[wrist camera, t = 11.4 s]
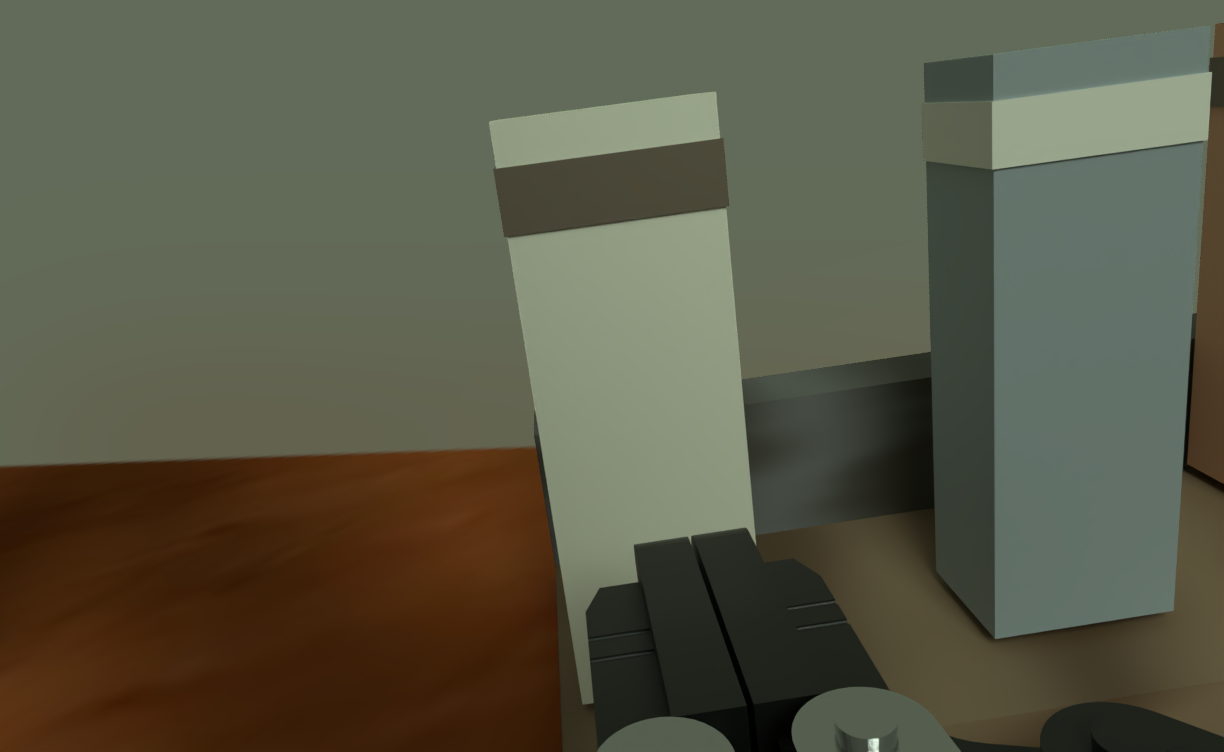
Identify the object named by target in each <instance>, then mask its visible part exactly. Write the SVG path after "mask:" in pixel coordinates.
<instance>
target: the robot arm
mask: <svg viewBox="0 0 1224 752" xmlns="http://www.w3.org/2000/svg"><path fill="white" fill-rule="evenodd" d="M634 555H635V563H636V571H637V578H638V582H635V583H629V584H622V585H616V586H609V587H602V588H599V590H598V592H597V593H596V595H595V597H594V598H593V600H592V602H591V604H590V605H589V607H588V609H587V610H586V612H585V613H586V624H587V635H588V646H589V657H590V668H591V679H592V690H593V701H594V712H595V724H596V735H597V746H598V747H597V752H1224V737H1223V736H1220V735H1217V734H1214V733H1212V732H1209V731H1206V730H1203V729H1201V728H1198V727H1195V726H1193V725H1190V724H1187V723H1184V722H1182V721H1179V720H1176V719H1174V718H1171V717H1168V716H1165V715H1163V714H1160V713H1157V712H1154V711H1151V710H1148V709H1145V708H1142V707H1137V706H1133V705H1128V704H1122V703H1114V702H1088V703H1081V704H1076V705H1072V706H1069V707H1066V708H1064V709H1061V710H1060V711H1058V712H1056V713H1054V714H1053V715H1052V716H1051V717H1050V718H1049V719H1048V720H1047V721H1046V722H1045V724H1044V726H1043V727H1042V731H1041V735H1040V747H1027V746H1014V745H1001V744H988V743H980V742H972V741H967V740H963V739H958V738H955V737H952V736H949V735H948V734H947V733H946V731H945V730H944V729H943V728H942V726H941V725H940V724H939V722H938V721H937V720H936V719H935V717H934V716H933V715H932V714H931V713H930V712H929V711H928V710H927V709H925V708H924V707H923V706H922V705H920V704H919V703H917V702H915V701H914V700H912V699H910V698H908V697H906V696H903V695H901V694H899V693H895V692H892V691H890V690H889V688H888V686H887V685H886V683H885V681H884V680H883V678H882V676H881V675H880V673H879V671H878V670H877V668H876V666H875V665H874V663H873V661H872V660H871V658H870V656H869V655H868V653H867V651H866V650H865V648H864V647H863V645H862V643H861V642H860V640H859V638H858V637H857V635H856V633H855V632H854V630H853V628H852V627H851V625H850V624H848V623H847V618H846V617H845V615H844V613H843V612H842V610H841V608H840V607H839V605H838V604H836V602H835V598H834V597H833V595H832V593H831V592H830V590H829V588H828V587H827V585H826V583H825V582H824V580H823V578H822V577H821V576H820V575H819V574H817V573H816V572H814V571H812V570H811V569H809V568H808V567H806V566H805V565H803V564H801V563H800V562H798V561H797V560H795V559H793V558H791V559H785V560H778V561H772V562H765V563H764V561H763V559H762V557H761V555H760V553H759V551H758V549H757V547H756V545H755V543H754V541H753V539H752V537H751V535H750V533H749V531H748V529H747V528H738V529H732V530H725V531H718V532H712V533H705V534H699V535H692V536H691V543H690V540H689V538H688V537H680V538H673V539H667V540H660V541H653V542H647V543H640V544H634Z"/></svg>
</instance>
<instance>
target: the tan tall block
mask: <svg viewBox="0 0 1224 752" xmlns="http://www.w3.org/2000/svg"><path fill="white" fill-rule="evenodd" d="M1209 67H1210V68H1209V72H1212V82H1211V98H1210V117H1209V133H1208V148H1207V164H1206V179H1205V180H1206V181H1205V196H1204V211H1203V226H1202V242H1201V257H1200V273H1199V288H1198V304H1197V319H1196V334H1195V350H1194V365H1193V381H1192V396H1191V412H1190V427H1189V443H1188V458H1187V464H1188V465H1190V466H1192V467H1194V468H1195V469H1197V470H1199V471H1201V472H1203V473H1205V474H1206V475H1208V476H1210V477H1212V478H1214V479H1216V480H1217V481H1219V482H1221V483H1223V484H1224V23H1220V24H1216V25H1215V40H1214V56H1213V58H1210V66H1209Z"/></svg>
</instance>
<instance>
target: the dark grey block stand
mask: <svg viewBox="0 0 1224 752" xmlns="http://www.w3.org/2000/svg"><path fill="white" fill-rule="evenodd" d="M1196 319H1197V313H1195V314H1192V327H1191V343H1190V359H1189V375H1188V390H1187V406H1186V422H1185V438H1184V454H1183V470H1182V486H1181V501H1180V517H1179V533H1178V549H1177V565H1176V581H1175V597H1174V611H1169V612H1162V613H1156V614H1150V615H1143V616H1137V617H1131V618H1125V619H1118V620H1112V621H1106V622H1099V623H1093V624H1087V625H1081V626H1074V627H1068V628H1062V629H1055V630H1049V631H1043V632H1037V633H1030V634H1024V635H1018V636H1011V637H1005V638H999V639H995V638H994V637H993V636H992V635H991V634H990V633H989V632H988V630H987V629H986V628H985V627H984V626H983V625H982V623H981V622H980V621H979V620H978V619H977V618H976V617H975V615H974V614H973V613H972V612H971V611H970V610H969V608H968V607H967V606H966V605H965V604H964V603H963V602H962V600H961V599H960V598H959V597H958V596H957V595H956V593H955V592H954V591H953V590H952V589H951V588H950V586H949V585H948V584H947V583H946V582H945V581H944V580H943V578H942V577H941V576H940V575H939V574H938V573H937V571H936V541H935V500H934V459H933V418H932V377H931V352H928V353H921V354H914V355H908V356H900V357H893V358H887V359H880V360H873V361H866V362H859V363H852V364H845V365H839V366H832V367H825V368H818V369H811V370H804V371H797V372H791V373H784V374H777V375H770V376H763V377H757V378H750V379H743V380H742V392H743V403H744V414H745V425H746V437H747V448H748V459H749V470H750V481H751V493H752V504H753V515H754V526H755V538H756V547H757V549H758V551H759V553H760V555H761V557H762V559H763V561H764V563H765V562H772V561H778V560H785V559H791V558H793V559H795V560H797V561H798V562H800V563H801V564H803V565H805V566H806V567H808V568H809V569H811V570H812V571H814V572H816V573H817V574H819V575H820V576H821V577H822V578H823V580H824V582H825V583H826V585H827V587H828V588H829V590H830V592H831V593H832V595H833V597H834V598H835V602H836V604H838V605H839V607H840V608H841V610H842V612H843V613H844V615H845V617H846V618H847V623H848V624H850V625H851V627H852V628H853V630H854V632H855V633H856V635H857V637H858V638H859V640H860V642H861V643H862V645H863V647H864V648H865V650H866V651H867V653H868V655H869V656H870V658H871V660H872V661H873V663H874V665H875V666H876V668H877V670H878V671H879V673H880V675H881V676H882V678H883V680H884V681H885V683H886V685H887V686H888V688H889V690H890V691H892V692H895V693H899V694H901V695H903V696H906V697H908V698H910V699H912V700H914V701H915V702H917V703H919V704H920V705H922V706H923V707H924V708H925V709H927V710H928V711H929V712H930V713H931V714H932V715H933V716H934V717H935V719H936V720H937V721H938V722H939V724H940V725H941V726H942V728H943V729H944V730H945V731H946V733H947V734H948V735H949V736H952V737H955V738H958V739H963V740H967V741H972V742H980V743H988V744H1001V745H1014V746H1027V747H1040V735H1041V731H1042V727H1043V726H1044V724H1045V722H1046V721H1047V720H1048V719H1049V718H1050V717H1051V716H1052V715H1053V714H1054V713H1056V712H1058V711H1060V710H1061V709H1064V708H1066V707H1069V706H1072V705H1076V704H1081V703H1088V702H1114V703H1122V704H1128V705H1133V706H1137V707H1142V708H1145V709H1148V710H1151V711H1154V712H1157V713H1160V714H1163V715H1165V716H1168V717H1171V718H1174V719H1176V720H1179V721H1182V722H1184V723H1187V724H1190V725H1193V726H1195V727H1198V728H1201V729H1203V730H1206V731H1209V732H1212V733H1214V734H1217V735H1220V736H1223V737H1224V484H1223V483H1221V482H1219V481H1217V480H1216V479H1214V478H1212V477H1210V476H1208V475H1206V474H1205V473H1203V472H1201V471H1199V470H1197V469H1195V468H1194V467H1192V466H1190V465H1188V464H1187V458H1188V443H1189V427H1190V412H1191V396H1192V381H1193V365H1194V350H1195V334H1196ZM534 420H535V421H534V437H535V443H536V449H537V456H538V462H539V468H540V474H541V480H542V486H543V492H544V499H545V505H546V511H547V517H548V523H549V529H550V535H551V542H552V548H553V554H554V560H555V568H556V594H557V621H558V647H559V674H560V701H561V727H562V752H597V747H598V746H597V735H596V724H595V712H594V703H590V704H584V705H583V704H582V698H581V692H580V686H579V679H578V673H577V667H576V661H575V654H574V648H573V642H572V636H571V630H570V623H569V617H568V611H567V605H566V599H565V592H564V586H563V580H562V574H561V567H560V561H559V555H558V549H557V543H556V536H555V530H554V524H553V518H552V512H551V505H550V499H549V493H548V487H547V480H546V474H545V468H544V462H543V456H542V449H541V443H540V437H539V431H538V424H537V418H536V412H535V415H534Z"/></svg>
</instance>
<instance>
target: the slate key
mask: <svg viewBox="0 0 1224 752" xmlns="http://www.w3.org/2000/svg"><path fill="white" fill-rule="evenodd" d="M1209 41H1210V26H1205V27H1197V28H1189V29H1181V30H1173V31H1165V32H1157V33H1149V34H1142V35H1134V36H1126V37H1118V38H1110V39H1104V40H1096V41H1088V42H1080V43H1073V44H1065V45H1058V46H1051V47H1043V48H1035V49H1028V50H1020V51H1013V52H1005V53H998V54H991V55H982V56H975V57H968V58H961V59H952V60H945V61H937V62H931V63H924V86H925V88H924V89H925V103H922V135H923V136H922V139H923V161H926V168H927V169H926V170H927V209H928V210H927V211H928V250H929V251H928V252H929V294H930V336H931V377H932V418H933V459H934V500H935V541H936V571H937V573H938V574H939V575H940V576H941V577H942V578H943V580H944V581H945V582H946V583H947V584H948V585H949V586H950V588H951V589H952V590H953V591H954V592H955V593H956V595H957V596H958V597H959V598H960V599H961V600H962V602H963V603H964V604H965V605H966V606H967V607H968V608H969V610H970V611H971V612H972V613H973V614H974V615H975V617H976V618H977V619H978V620H979V621H980V622H981V623H982V625H983V626H984V627H985V628H986V629H987V630H988V632H989V633H990V634H991V635H992V636H993V637H994V638H995V639H999V638H1005V637H1011V636H1018V635H1024V634H1030V633H1037V632H1043V631H1049V630H1055V629H1062V628H1068V627H1074V626H1081V625H1087V624H1093V623H1099V622H1106V621H1112V620H1118V619H1125V618H1131V617H1137V616H1143V615H1150V614H1156V613H1162V612H1169V611H1174V597H1175V581H1176V565H1177V549H1178V533H1179V517H1180V501H1181V486H1182V470H1183V454H1184V438H1185V422H1186V406H1187V390H1188V375H1189V359H1190V343H1191V327H1192V311H1193V294H1194V279H1195V263H1196V247H1197V231H1198V215H1199V200H1200V183H1201V168H1202V151H1203V140H1208V129H1209V113H1210V98H1211V82H1212V72H1208V57H1209Z"/></svg>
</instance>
